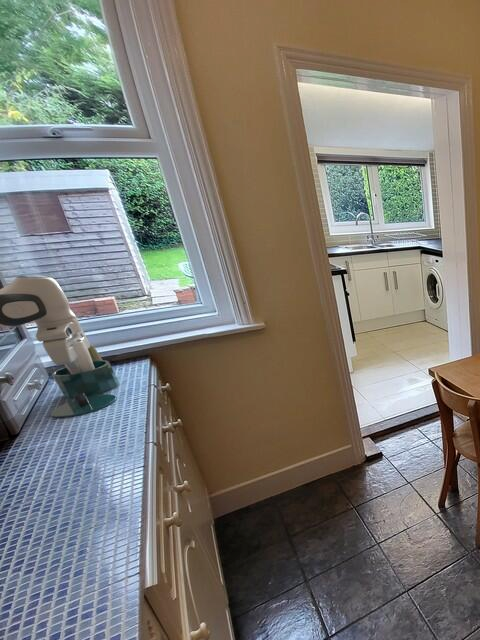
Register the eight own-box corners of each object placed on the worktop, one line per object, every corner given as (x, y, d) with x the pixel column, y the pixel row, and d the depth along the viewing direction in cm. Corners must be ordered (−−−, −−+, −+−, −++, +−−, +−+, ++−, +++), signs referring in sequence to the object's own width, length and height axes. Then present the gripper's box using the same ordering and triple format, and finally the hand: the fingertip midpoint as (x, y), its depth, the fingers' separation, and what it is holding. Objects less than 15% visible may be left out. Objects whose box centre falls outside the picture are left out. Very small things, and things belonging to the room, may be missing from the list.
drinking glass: (84, 391, 132) (61, 346, 125) (71, 388, 134) (48, 345, 128) (108, 382, 137) (88, 340, 131) (96, 380, 140) (75, 338, 133)
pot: (58, 404, 128) (44, 379, 125) (73, 389, 139) (60, 366, 135) (114, 393, 134) (102, 369, 131) (124, 380, 145) (113, 357, 141)
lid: (44, 424, 116) (35, 410, 114) (62, 405, 127) (55, 391, 125) (110, 410, 122) (103, 396, 120) (122, 393, 134) (116, 380, 132)
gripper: (59, 322, 134) (79, 361, 140) (33, 337, 118) (56, 381, 124) (84, 319, 137) (103, 357, 143) (62, 333, 121) (84, 376, 126)
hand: (81, 369), depth 133 cm, fingers closed on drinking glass, 6 cm apart
